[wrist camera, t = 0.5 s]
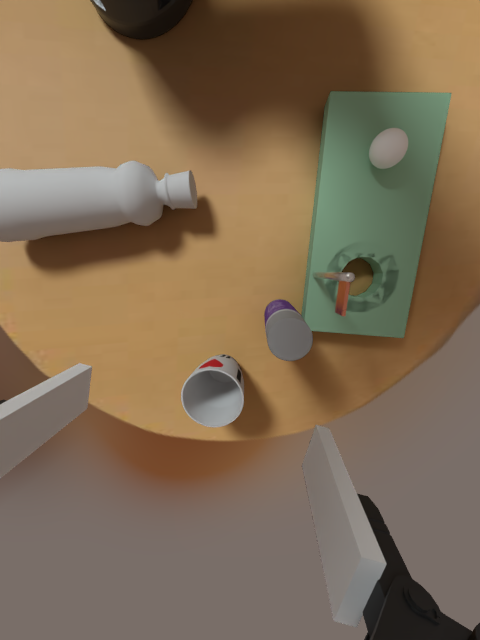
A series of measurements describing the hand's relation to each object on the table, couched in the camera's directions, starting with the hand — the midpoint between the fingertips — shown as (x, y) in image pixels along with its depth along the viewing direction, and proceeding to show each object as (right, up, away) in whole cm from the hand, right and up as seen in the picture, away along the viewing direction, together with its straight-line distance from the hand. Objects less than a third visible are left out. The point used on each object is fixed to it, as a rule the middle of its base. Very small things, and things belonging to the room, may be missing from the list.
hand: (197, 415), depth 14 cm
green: (+20, +19, +22) cm, 35 cm away
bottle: (-18, +22, +25) cm, 38 cm away
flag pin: (+13, +10, +21) cm, 27 cm away
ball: (+20, +26, +15) cm, 36 cm away
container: (+9, +6, +25) cm, 28 cm away
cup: (0, -3, +28) cm, 28 cm away
